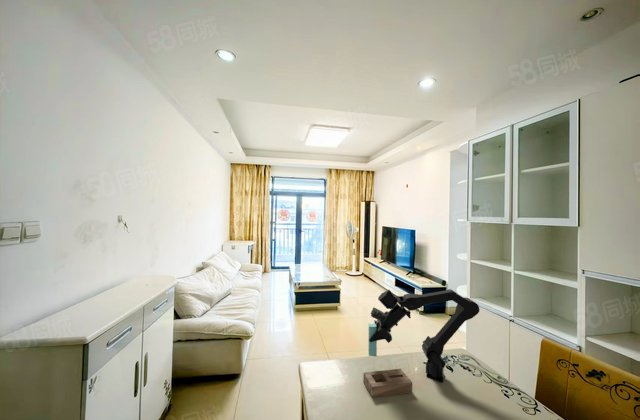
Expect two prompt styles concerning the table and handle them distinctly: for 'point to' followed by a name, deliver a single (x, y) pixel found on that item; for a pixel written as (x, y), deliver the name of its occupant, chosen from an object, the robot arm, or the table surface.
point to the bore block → (387, 382)
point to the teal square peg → (373, 345)
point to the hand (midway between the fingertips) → (369, 339)
